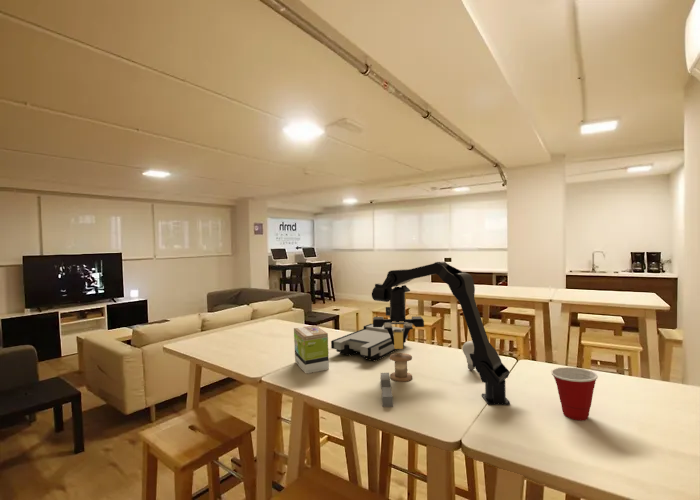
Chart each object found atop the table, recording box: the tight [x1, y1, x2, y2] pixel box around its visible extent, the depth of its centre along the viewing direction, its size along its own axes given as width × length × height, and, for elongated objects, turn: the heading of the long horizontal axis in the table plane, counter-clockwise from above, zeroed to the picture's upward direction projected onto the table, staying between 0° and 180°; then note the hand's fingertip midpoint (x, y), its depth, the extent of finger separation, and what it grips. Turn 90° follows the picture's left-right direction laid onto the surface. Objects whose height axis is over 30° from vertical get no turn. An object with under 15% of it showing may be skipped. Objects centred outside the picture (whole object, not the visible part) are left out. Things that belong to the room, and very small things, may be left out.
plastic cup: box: [550, 366, 599, 421], centre depth 94 cm, size 11×11×12 cm
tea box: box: [293, 324, 330, 374], centre depth 138 cm, size 15×10×15 cm, turn 25°
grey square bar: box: [380, 372, 394, 408], centre depth 111 cm, size 19×3×3 cm, turn 177°
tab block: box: [394, 329, 404, 350], centre depth 129 cm, size 4×3×6 cm
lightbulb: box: [462, 340, 476, 371], centre depth 129 cm, size 6×6×11 cm
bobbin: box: [389, 352, 413, 383], centre depth 124 cm, size 8×8×8 cm
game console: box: [330, 323, 409, 362], centre depth 157 cm, size 21×32×8 cm, turn 143°
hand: (398, 344), depth 129 cm, fingers closed on tab block, 3 cm apart
